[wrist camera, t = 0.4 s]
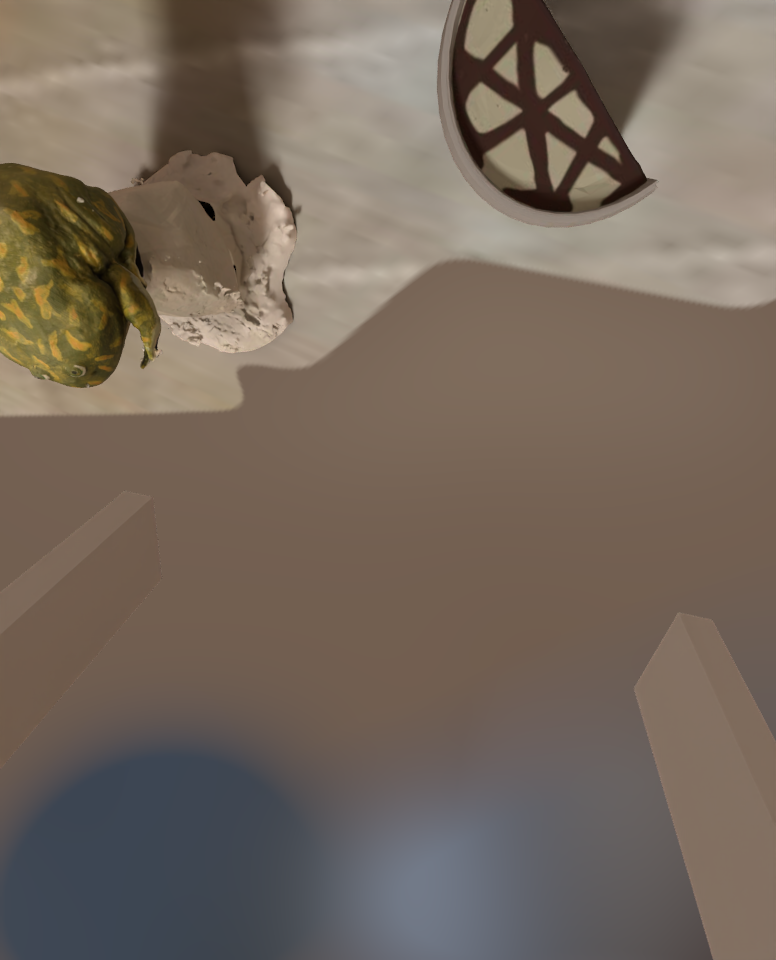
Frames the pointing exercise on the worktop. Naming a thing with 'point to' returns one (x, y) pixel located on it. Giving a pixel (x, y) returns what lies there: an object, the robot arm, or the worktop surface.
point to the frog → (138, 265)
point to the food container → (530, 118)
